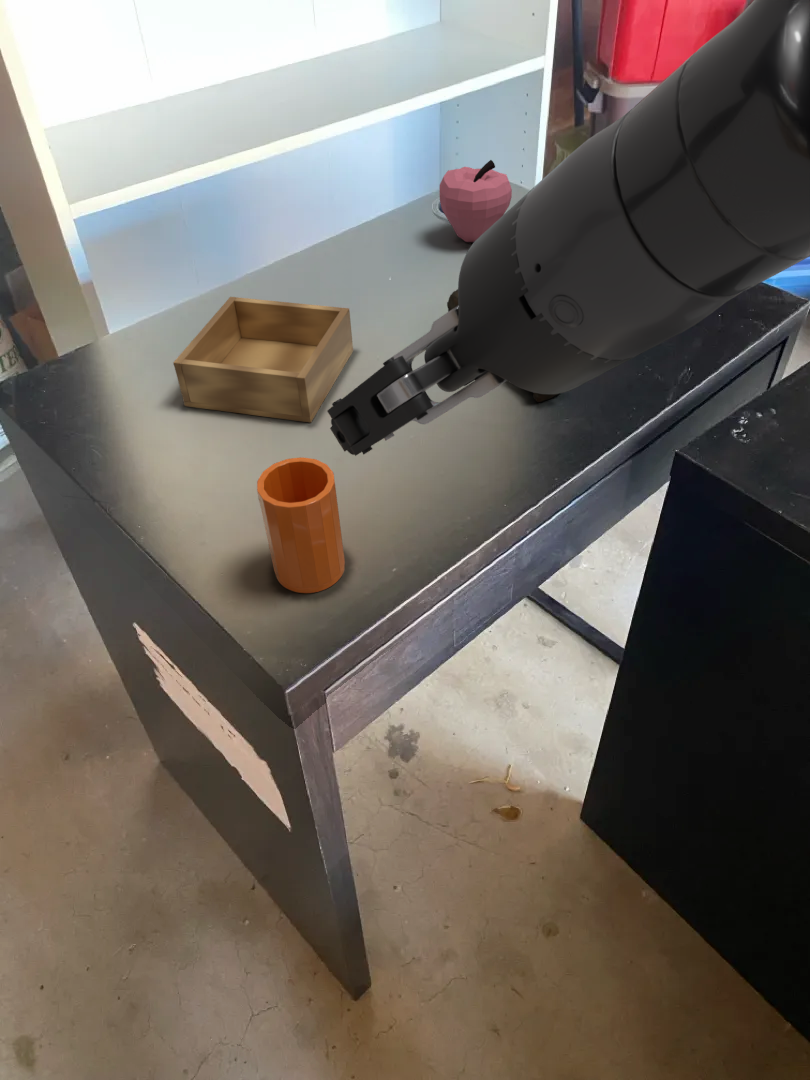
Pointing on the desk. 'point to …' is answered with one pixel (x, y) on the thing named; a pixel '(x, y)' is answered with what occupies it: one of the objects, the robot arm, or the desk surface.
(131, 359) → the desk surface
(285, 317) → the wooden tray
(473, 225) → the apple
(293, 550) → the orange cup
